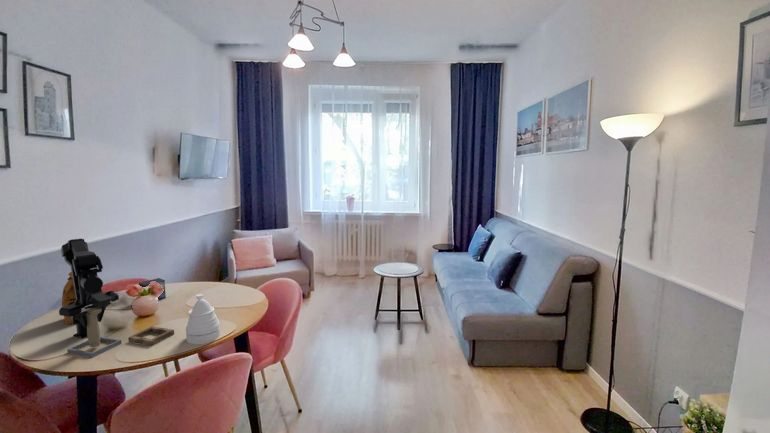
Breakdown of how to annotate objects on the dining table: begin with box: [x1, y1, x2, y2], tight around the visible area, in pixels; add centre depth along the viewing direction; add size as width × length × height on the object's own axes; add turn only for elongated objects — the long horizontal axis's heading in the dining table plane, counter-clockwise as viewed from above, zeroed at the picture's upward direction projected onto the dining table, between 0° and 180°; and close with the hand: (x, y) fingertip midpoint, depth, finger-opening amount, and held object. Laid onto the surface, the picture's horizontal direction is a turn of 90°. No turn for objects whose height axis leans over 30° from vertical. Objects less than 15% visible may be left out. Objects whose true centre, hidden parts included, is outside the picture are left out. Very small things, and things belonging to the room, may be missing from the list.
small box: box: [138, 278, 167, 301], centre depth 196 cm, size 11×6×10 cm, turn 148°
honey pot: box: [185, 293, 221, 345], centre depth 153 cm, size 13×13×18 cm
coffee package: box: [61, 271, 76, 325], centre depth 170 cm, size 10×12×22 cm
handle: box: [85, 307, 102, 348], centre depth 143 cm, size 5×6×15 cm
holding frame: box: [66, 335, 122, 358], centre depth 144 cm, size 13×12×2 cm
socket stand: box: [128, 325, 175, 347], centre depth 153 cm, size 12×11×2 cm
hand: (92, 324), depth 143 cm, fingers closed on handle, 5 cm apart
